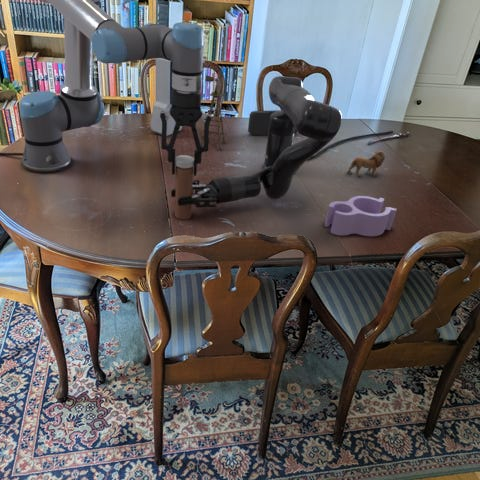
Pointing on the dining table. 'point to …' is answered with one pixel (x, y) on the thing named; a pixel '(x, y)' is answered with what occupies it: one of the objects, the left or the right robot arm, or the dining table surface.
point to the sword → (386, 138)
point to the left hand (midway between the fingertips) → (184, 172)
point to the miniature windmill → (217, 95)
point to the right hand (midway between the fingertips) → (175, 197)
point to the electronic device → (163, 96)
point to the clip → (359, 216)
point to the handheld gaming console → (260, 122)
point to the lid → (184, 161)
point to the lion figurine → (368, 163)
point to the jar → (183, 191)
